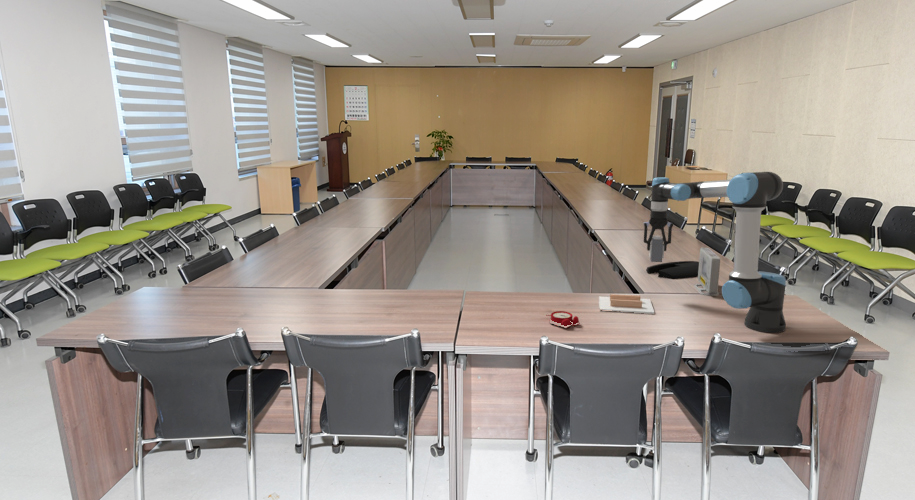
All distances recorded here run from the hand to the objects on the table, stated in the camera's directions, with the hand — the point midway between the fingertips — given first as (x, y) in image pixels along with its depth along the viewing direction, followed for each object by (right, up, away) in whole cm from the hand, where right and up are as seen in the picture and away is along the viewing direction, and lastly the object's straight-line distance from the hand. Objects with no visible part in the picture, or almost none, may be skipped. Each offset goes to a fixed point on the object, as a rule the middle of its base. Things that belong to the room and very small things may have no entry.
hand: (656, 257), depth 264 cm
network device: (+32, -17, +16) cm, 39 cm away
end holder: (-17, -23, -7) cm, 30 cm away
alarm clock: (-51, -29, -29) cm, 65 cm away
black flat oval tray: (+34, -10, +53) cm, 63 cm away
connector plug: (0, -2, 0) cm, 2 cm away
